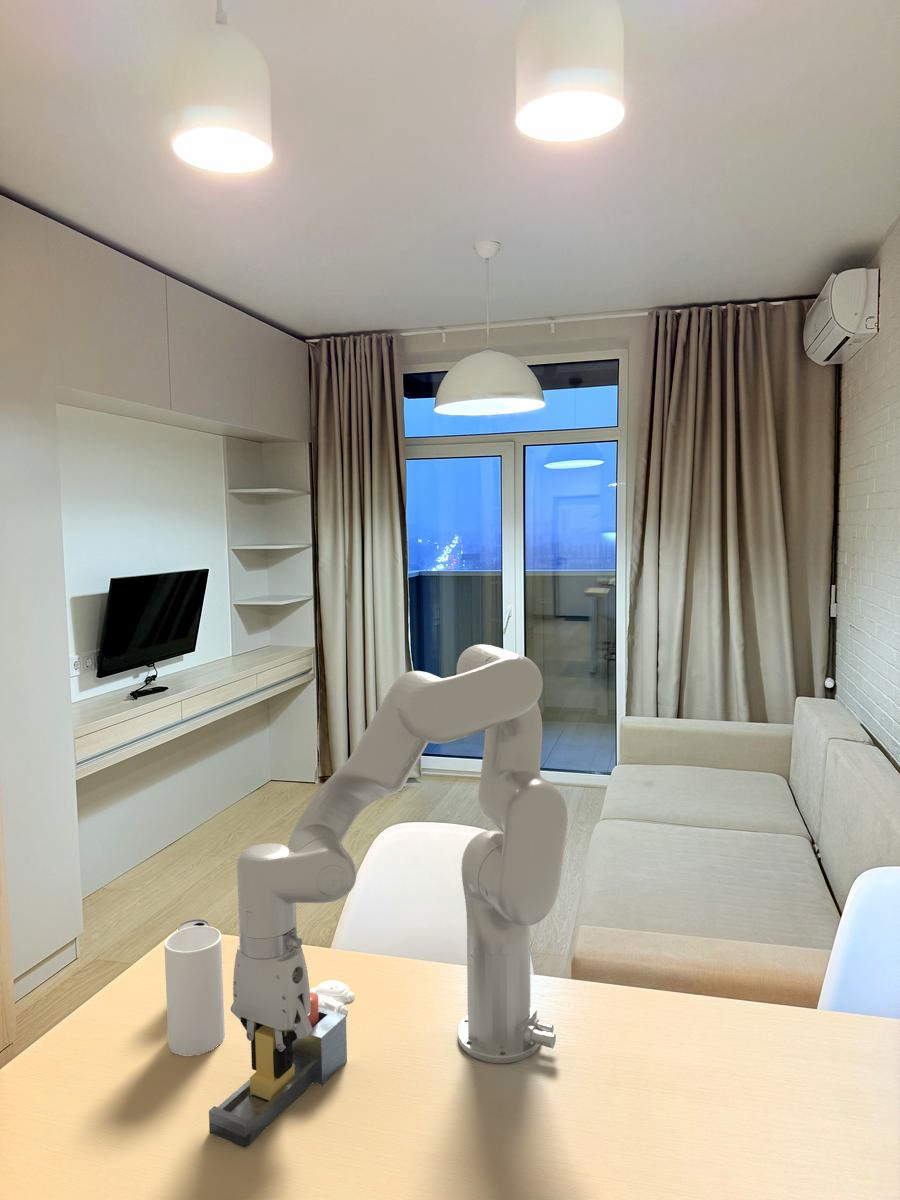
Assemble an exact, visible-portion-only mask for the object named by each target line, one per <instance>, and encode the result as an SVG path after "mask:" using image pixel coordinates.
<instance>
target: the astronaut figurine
mask: <svg viewBox="0 0 900 1200" xmlns="http://www.w3.org/2000/svg"><path fill="white" fill-rule="evenodd" d="M309 989H310V993H315V994H317V995H318V1006H319V1007H321V1008H324V1009H327V1010H330V1011H333V1012H337V1013H340V1014H343V1015H346V1016H347V1015H348V1014H349V1009H348V1008H347V1006H346V1005H345V1004H347V1003H348V1004H349V1003H352V1002H353V1001H354V1000H355V996H356V995H355V993H354V991H351V990H350V987H349V986H348V985H347V984H345V983H343V982H342V981H339V980H333V979H331V980H327V981H326V980H324V981H322V982H320V983H318V984H317V985H316V986H315V987H312V988H309Z"/></svg>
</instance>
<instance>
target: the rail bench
mask: <svg viewBox="0 0 900 1200" xmlns="http://www.w3.org/2000/svg"><path fill="white" fill-rule="evenodd" d="M295 1027H297V1025H296V1023H295ZM347 1044H348V1042H347V1015H343V1014H340V1013H337V1012H333V1011H330V1010H327V1009H324V1008H321V1007H319V1023H318V1024H316V1025H315V1026H314V1027H313V1031H312V1032H311V1033H310V1034H309V1035H308V1036H307V1037H305V1038H301V1039H297V1040H295V1041H294V1042H292V1057H293V1064H294V1065H295V1077H294V1078H293V1079H292V1080H291V1081H290V1082H289V1083H288V1084H286V1085H285V1086H284V1087H283V1088H282V1089H281V1090H280V1091H279V1092H278V1093H277V1094H276V1095H275V1096H274V1097H272V1098H271V1099H270V1100H266V1099H264V1098H261V1097H259V1096H256V1095H254V1094H251V1093H250V1078H249V1079H248V1080H247V1081H246V1082H245V1083H243V1084H242V1085H241V1086H240V1087H239V1088H238V1089H237V1090H235V1091H234V1092H233V1093H232V1094H231V1095H230V1096H228V1097H227V1098H226V1099H225V1100H223V1102H222V1103H220V1104H219V1105H218V1106H212V1108H210V1109H209V1110H208V1123H209V1126H208V1127H209V1134H211V1135H213V1136H216V1137H218V1138H220V1137H221V1139H223V1140H225V1141H227V1142H230V1143H232V1144H234V1145H236V1146H239V1147H241V1148H243V1149H244V1150H245V1149H247V1148H248V1147H249V1146H250V1145H251V1144H252V1143H253V1142H255V1140H256V1139H257V1138H258V1137H259V1136H260V1135H262V1133H263V1132H264V1131H265V1130H267V1128H269V1127H270V1126H271V1124H272V1123H274V1121H276V1120H277V1119H278V1118H279V1117H280V1116H281V1115H282V1113H283V1114H284V1112H285V1111H286V1110H287V1109H288V1108H289V1107H290V1106H291V1105H292V1104H293V1103H294V1102H295V1101H296V1100H297V1099H298V1098H299V1097H301V1095H302V1094H304V1093H305V1091H306V1090H308V1089H309V1087H311V1086H312V1085H313V1084H317V1085H319V1086H324V1085H325V1084H326V1083H327V1082H328V1081H330V1079H331V1078H332V1077H333V1076H334V1075H335V1074H336V1073H337V1072H338V1071H339V1070H340V1069H341V1068H342V1067H343V1066H344V1065H345V1064H346V1063H347V1062H348V1049H347ZM312 1083H313V1084H312Z"/></svg>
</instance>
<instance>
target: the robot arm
mask: <svg viewBox="0 0 900 1200" xmlns="http://www.w3.org/2000/svg"><path fill="white" fill-rule="evenodd" d="M543 683H544V682H543V676H542V673H541V671H540V669H539V667H538V666H537V664H536V663H535V662H534V661H533V660H532V659H530V658H528V657H526V656H525V655H523V654H520V653H517V652H514V651H510V650H507V649H504V648H501V647H498V646H494V645H490V644H483V643H482V644H474V645H472V646H469V647H468V648H466V649H465V650H464V651H463V652H462V653H461V654H460V656H459V658H458V660H457V663H456V675H453V676H448V677H443V678H442V677H440V676H437V675H435V674H432V673H430V672H426V671H421V670H413V671H412V670H411V671H408V672H405V673H403V674H401V675H400V676H398V678H397V679H396V680H395V681H394V682H393V684H392V686H391V687H390V689H388V692H387V693H386V695H385V697H384V698H383V700H382V702H381V704H380V705H379V707H378V709H377V711H376V712H375V714H374V716H373V717H372V719H371V721H370V723H369V725H368V726H367V727H366V729H365V732H363V734H362V736H361V738H360V739H359V742H358V743H357V745H356V746H355V748H354V749H353V752H352V753H351V755H350V756H349V757H348V759H347V760H346V761H345V762H344V763H343V764H342V765H341V766H340V767H339V768H337V769H336V771H335V772H334V773H333V774H332V775H331V776H330V777H329V778H328V779H326V781H325V782H323V784H322V785H321V786H320V787H319V788H318V790H316V792H315V794H314V795H313V796H312V798H311V799H310V801H309V803H308V804H307V806H306V807H305V809H304V811H303V812H302V814H301V816H300V818H299V819H298V821H297V823H296V825H295V827H294V828H293V830H292V833H291V835H290V837H289V839H288V843H287V846H286V845H285V844H281V843H277V842H275V843H274V842H272V843H271V842H269V843H268V842H267V843H259V844H254V845H253V846H252V845H251V846H249V847H247V848H245V849H244V850H243V851H242V852H241V853H240V855H239V856H238V859H237V862H236V866H237V867H236V874H237V878H236V879H237V903H238V904H237V905H238V906H237V907H238V908H237V909H238V933H239V935H238V937H239V944H238V946H237V948H236V949H237V950H236V953H235V960H234V968H233V977H232V978H233V982H232V983H233V984H232V999H233V1002H232V1004H231V1007H230V1011H231V1013H232V1014H233V1015H234V1016H235V1017H236V1018H237V1019H238V1020H240V1024H241V1025H242V1027H243V1028H244V1030H245V1031H246V1033H245V1034H246V1039H247V1040H248V1041H249V1042H250V1049H251V1052H250V1053H251V1055H250V1056H251V1069H252V1070H253V1071H256V1046H255V1031H257V1030H258V1029H259V1028H260V1027H262V1026H263V1025H266V1026H269V1027H272V1028H274V1029H275V1038H276V1047H277V1048H276V1049H274V1051H273V1063H274V1077H275V1078H277V1079H279V1078H280V1077H281V1076H283V1075H284V1074H285V1073H286V1072H287V1071H288V1070H289V1069H290V1068H291V1067H292V1063H293V1057H292V1042H294V1041H295V1040H297V1039H301V1038H305V1037H307V1036H308V1035H309V1034H310V1033H311V1032H312V1031H313V1028H312V1026H311V1023H310V1021H309V1019H308V1015H309V1014H310V1010H311V1003H310V989H311V988H310V982H309V981H310V980H309V973H308V966H307V963H306V957H305V955H304V954H305V953H304V951H303V948H302V945H303V939H302V937H298V931H297V904H327V903H334V902H336V901H339V900H341V899H343V898H345V897H346V896H348V895H349V894H350V893H351V891H352V890H353V888H354V886H355V884H356V882H357V881H356V880H357V877H358V876H357V873H358V872H357V867H356V864H355V861H354V860H353V857H352V856H351V855H350V854H349V852H348V850H347V849H346V848H345V846H344V845H343V844H342V843H343V840H344V838H345V837H346V835H347V833H348V831H349V830H350V828H351V826H352V825H353V823H354V821H355V820H356V819H357V818H358V816H359V815H360V814H361V812H362V811H363V810H364V809H366V807H368V806H369V805H371V803H373V802H375V801H377V800H380V799H382V798H386V797H390V796H392V795H395V794H397V793H399V792H400V791H402V789H403V788H404V787H405V785H406V783H407V781H408V779H409V777H410V776H411V774H412V772H413V771H414V768H415V767H416V764H417V763H418V762H419V759H421V757H422V755H423V753H424V751H425V749H426V747H427V746H428V744H429V743H431V744H438V745H439V744H446V743H450V742H454V741H458V740H461V739H463V738H468V737H469V736H472V735H475V734H478V733H480V732H481V733H482V731H484V745H483V746H484V747H483V754H482V763H481V769H480V778H479V784H478V785H479V786H478V791H477V792H478V793H477V805H478V808H479V811H480V813H481V815H482V816H483V817H484V818H485V819H486V820H487V821H488V822H489V823H491V824H492V825H493V826H495V828H497V829H498V830H493V829H492V830H486V831H482V832H480V833H478V834H477V835H475V836H474V837H473V838H471V839H470V841H469V842H468V843H467V845H466V847H465V848H464V851H463V855H462V858H461V869H460V870H461V882H462V888H463V894H464V900H465V909H466V910H465V911H466V967H467V968H466V969H467V970H466V973H467V974H466V979H467V980H466V981H467V982H466V985H467V987H466V989H467V993H466V994H467V999H466V1000H467V1016H465V1017H464V1018H463V1019H462V1020H461V1022H459V1025H458V1027H457V1041H458V1043H459V1045H460V1047H461V1048H462V1049H463V1051H464V1052H466V1053H467V1054H468V1055H469V1056H471V1057H473V1058H474V1059H478V1060H480V1061H482V1062H483V1061H484V1062H487V1063H494V1064H506V1063H507V1064H509V1063H514V1062H518V1061H522V1060H524V1059H526V1058H528V1057H531V1055H532V1054H534V1053H535V1052H536V1051H537V1050H538V1048H539V1047H540V1046H543V1047H546V1048H550V1049H554V1047H555V1045H556V1041H557V1040H556V1039H557V1036H556V1034H555V1033H554V1030H555V1029H554V1025H553V1024H551V1023H547V1022H541V1021H540V1019H539V1018H537V1017H538V1016H537V1015H538V1013H537V1008H536V1007H532V1006H531V935H532V934H531V926H533V925H534V926H535V925H537V924H538V923H540V922H542V921H543V920H544V919H545V918H546V917H547V916H548V915H550V913H551V911H552V909H553V908H554V906H555V904H556V902H557V897H558V895H559V891H560V885H561V880H562V872H563V867H564V866H563V865H564V857H565V851H566V850H565V849H566V842H567V834H568V825H569V824H568V823H569V816H568V815H569V814H568V809H567V804H566V802H565V799H564V796H563V795H562V793H561V792H560V790H559V789H558V788H557V786H555V785H554V784H553V783H552V782H550V781H549V780H547V779H545V778H543V777H542V776H541V760H542V759H541V758H542V748H543V747H542V745H543V720H542V715H541V710H540V707H539V703H538V701H539V699H540V698H541V695H542V692H543V685H544V684H543ZM295 1023H296V1025H297V1027H295ZM284 1031H286V1034H287V1035H286V1036H285V1033H284Z"/></svg>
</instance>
